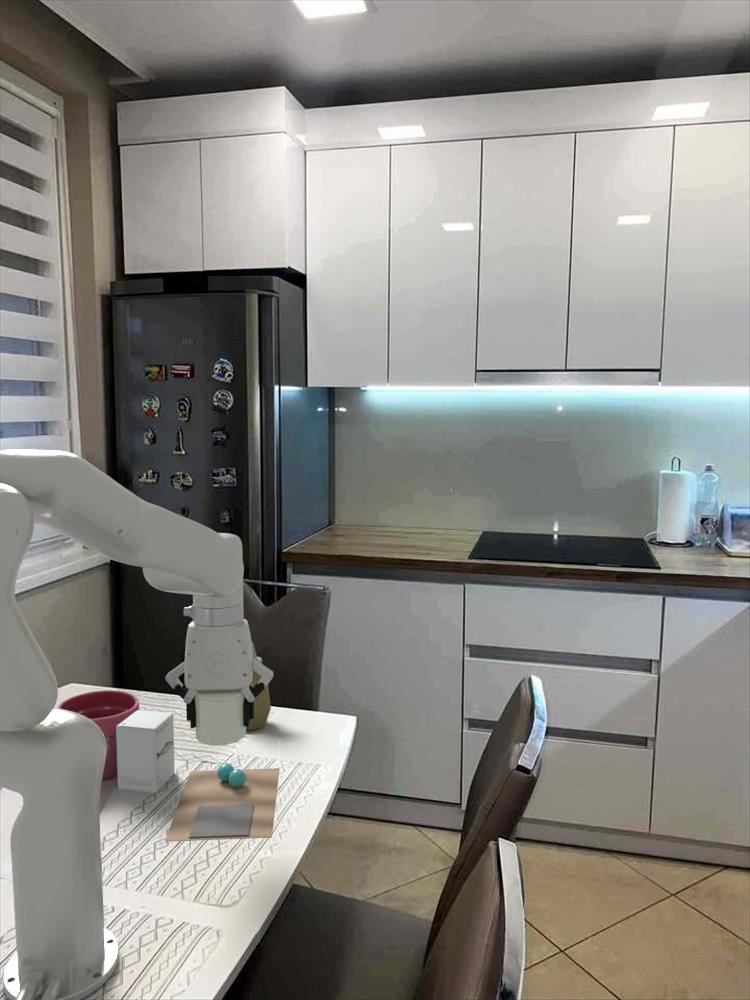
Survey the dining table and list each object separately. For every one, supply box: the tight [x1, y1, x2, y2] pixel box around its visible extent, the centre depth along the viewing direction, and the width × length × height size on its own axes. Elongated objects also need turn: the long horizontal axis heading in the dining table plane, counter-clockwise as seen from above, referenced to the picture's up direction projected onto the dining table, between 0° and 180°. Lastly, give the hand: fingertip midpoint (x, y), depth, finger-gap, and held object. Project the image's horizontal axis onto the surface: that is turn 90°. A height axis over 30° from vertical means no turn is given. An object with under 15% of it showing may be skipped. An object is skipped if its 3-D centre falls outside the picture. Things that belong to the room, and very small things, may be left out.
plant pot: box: [56, 689, 140, 782], centre depth 135 cm, size 14×14×13 cm
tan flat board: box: [165, 767, 280, 842], centre depth 123 cm, size 22×16×1 cm
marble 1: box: [217, 762, 235, 781], centre depth 130 cm, size 3×3×3 cm
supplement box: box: [116, 709, 176, 794], centre depth 129 cm, size 7×7×13 cm
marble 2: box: [229, 768, 246, 787], centre depth 127 cm, size 3×3×3 cm
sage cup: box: [195, 690, 247, 747], centre depth 115 cm, size 8×8×8 cm
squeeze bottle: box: [246, 641, 272, 731], centre depth 155 cm, size 8×8×18 cm
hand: (220, 723), depth 115 cm, fingers closed on sage cup, 7 cm apart
